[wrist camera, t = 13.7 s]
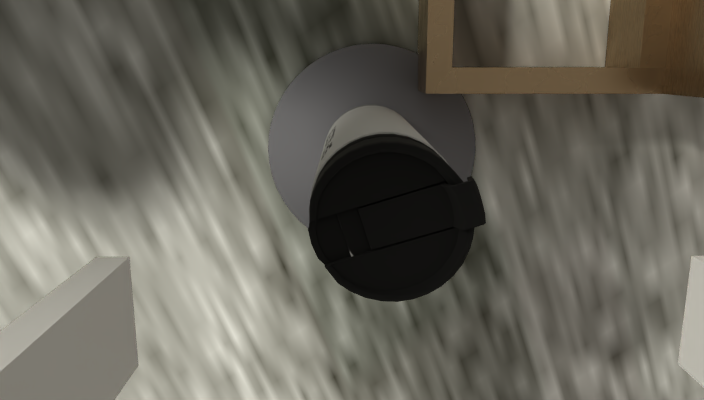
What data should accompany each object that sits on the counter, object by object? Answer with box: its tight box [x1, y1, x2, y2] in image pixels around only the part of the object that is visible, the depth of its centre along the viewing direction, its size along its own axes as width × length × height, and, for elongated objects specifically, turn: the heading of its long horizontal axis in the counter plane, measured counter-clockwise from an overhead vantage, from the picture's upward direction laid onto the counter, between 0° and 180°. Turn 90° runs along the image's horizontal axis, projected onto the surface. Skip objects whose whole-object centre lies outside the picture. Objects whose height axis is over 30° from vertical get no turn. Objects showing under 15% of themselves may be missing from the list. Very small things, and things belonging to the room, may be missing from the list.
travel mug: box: [308, 105, 486, 302], centre depth 32 cm, size 6×7×20 cm
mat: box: [268, 44, 475, 228], centre depth 42 cm, size 14×14×1 cm
